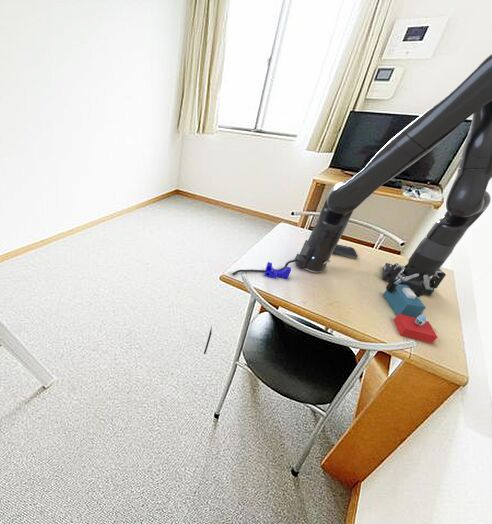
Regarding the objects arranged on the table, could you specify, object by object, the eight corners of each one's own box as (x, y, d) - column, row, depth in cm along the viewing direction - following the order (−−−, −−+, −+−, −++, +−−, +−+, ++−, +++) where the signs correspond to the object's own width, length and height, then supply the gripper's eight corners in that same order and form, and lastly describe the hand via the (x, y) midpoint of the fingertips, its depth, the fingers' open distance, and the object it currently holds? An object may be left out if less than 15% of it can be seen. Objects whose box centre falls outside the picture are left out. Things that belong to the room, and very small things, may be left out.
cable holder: (264, 275, 110) (267, 267, 108) (264, 270, 113) (267, 262, 111) (287, 281, 108) (291, 272, 106) (286, 276, 111) (290, 267, 109)
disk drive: (381, 280, 113) (430, 296, 107) (385, 274, 112) (435, 290, 105) (382, 268, 120) (428, 282, 114) (385, 262, 119) (432, 276, 112)
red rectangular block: (400, 334, 90) (412, 320, 87) (393, 319, 96) (404, 305, 92) (431, 343, 88) (445, 328, 85) (423, 327, 93) (435, 313, 90)
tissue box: (398, 316, 97) (410, 301, 93) (382, 294, 106) (393, 280, 102) (415, 319, 96) (428, 304, 92) (398, 297, 105) (409, 282, 101)
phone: (316, 239, 133) (353, 247, 130) (315, 242, 134) (352, 249, 130) (318, 248, 127) (358, 257, 123) (317, 250, 128) (356, 259, 124)
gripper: (449, 250, 94) (419, 289, 103) (399, 243, 96) (374, 283, 105) (465, 263, 88) (432, 304, 97) (412, 256, 89) (384, 297, 99)
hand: (402, 293), depth 101 cm, fingers open, 8 cm apart
